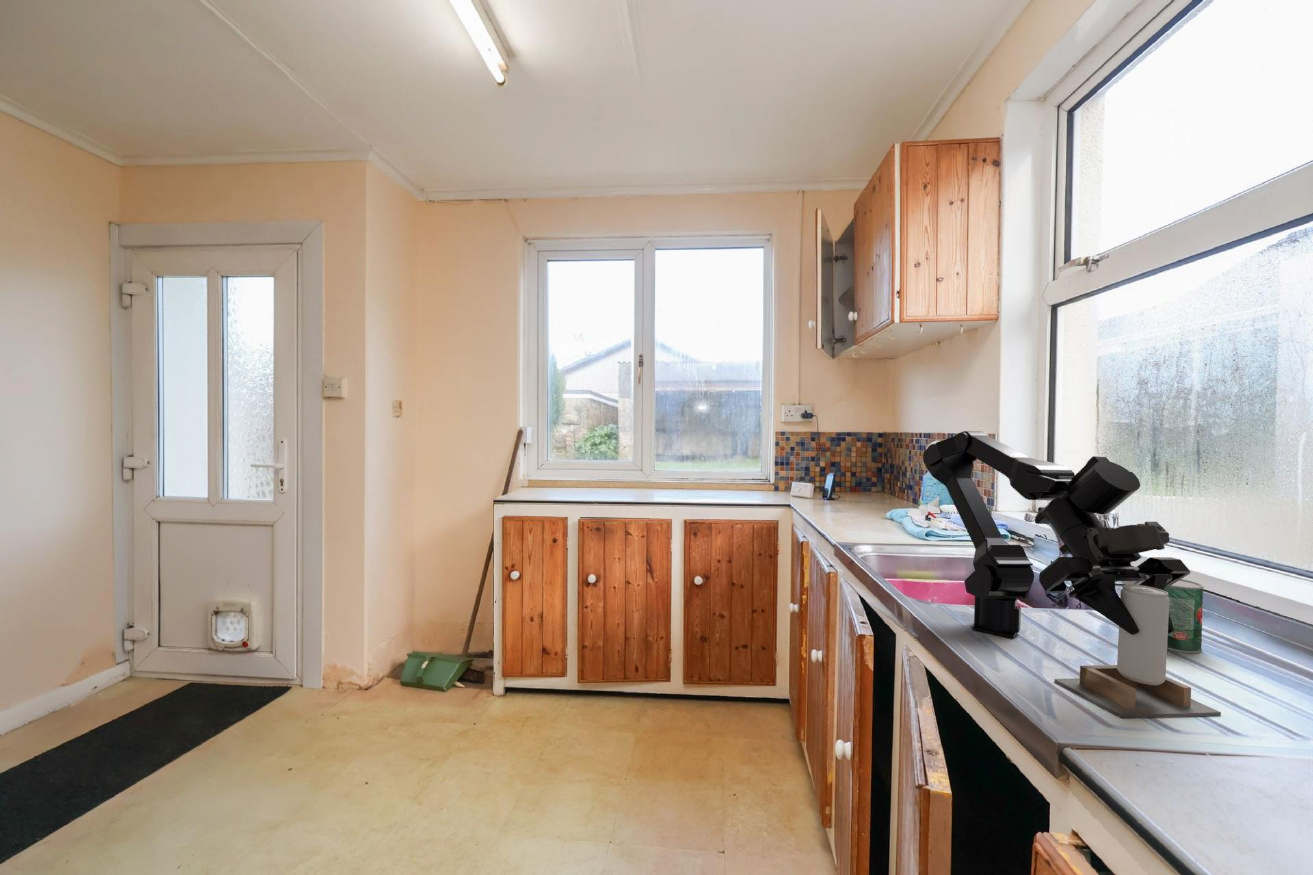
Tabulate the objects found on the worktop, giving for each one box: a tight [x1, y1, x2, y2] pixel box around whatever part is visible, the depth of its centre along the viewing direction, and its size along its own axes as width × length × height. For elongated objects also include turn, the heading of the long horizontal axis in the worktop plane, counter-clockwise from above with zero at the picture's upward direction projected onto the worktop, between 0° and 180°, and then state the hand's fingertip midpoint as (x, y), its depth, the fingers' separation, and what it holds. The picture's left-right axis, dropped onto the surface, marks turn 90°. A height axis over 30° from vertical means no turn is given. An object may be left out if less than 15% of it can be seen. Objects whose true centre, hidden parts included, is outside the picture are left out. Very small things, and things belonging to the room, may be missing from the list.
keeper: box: [1053, 664, 1222, 719], centre depth 73 cm, size 10×14×3 cm
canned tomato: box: [1164, 578, 1204, 654], centre depth 93 cm, size 8×8×11 cm
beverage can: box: [1116, 583, 1169, 685], centre depth 72 cm, size 5×5×12 cm
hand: (1153, 633), depth 70 cm, fingers closed on beverage can, 5 cm apart
